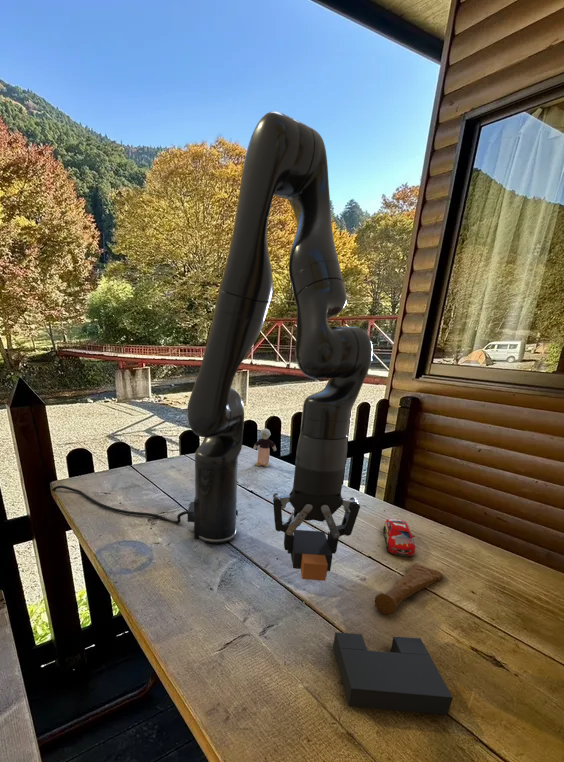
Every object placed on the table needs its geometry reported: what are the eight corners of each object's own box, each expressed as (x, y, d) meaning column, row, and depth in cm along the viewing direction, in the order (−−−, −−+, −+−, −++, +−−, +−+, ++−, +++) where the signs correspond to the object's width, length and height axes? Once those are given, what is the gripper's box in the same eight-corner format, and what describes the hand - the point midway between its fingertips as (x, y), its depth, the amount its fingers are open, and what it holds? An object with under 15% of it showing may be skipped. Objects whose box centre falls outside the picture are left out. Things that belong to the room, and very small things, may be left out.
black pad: (348, 706, 52) (351, 688, 51) (332, 647, 62) (335, 631, 61) (448, 715, 51) (453, 697, 50) (416, 654, 60) (420, 638, 59)
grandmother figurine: (252, 466, 137) (253, 429, 133) (252, 462, 141) (254, 426, 136) (275, 467, 136) (278, 430, 131) (275, 463, 139) (277, 427, 135)
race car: (415, 561, 83) (419, 544, 82) (386, 556, 85) (389, 540, 83) (407, 531, 95) (410, 515, 93) (382, 527, 96) (384, 512, 95)
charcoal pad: (294, 578, 65) (296, 562, 64) (289, 543, 75) (290, 529, 74) (333, 581, 64) (335, 565, 63) (322, 546, 74) (324, 531, 73)
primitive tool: (414, 565, 82) (417, 549, 80) (444, 576, 78) (448, 561, 77) (370, 609, 70) (373, 592, 68) (403, 625, 66) (407, 608, 65)
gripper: (361, 455, 67) (347, 544, 73) (272, 451, 69) (266, 538, 75) (374, 471, 60) (357, 568, 66) (275, 467, 62) (267, 561, 68)
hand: (308, 552), depth 71 cm, fingers closed on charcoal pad, 6 cm apart
